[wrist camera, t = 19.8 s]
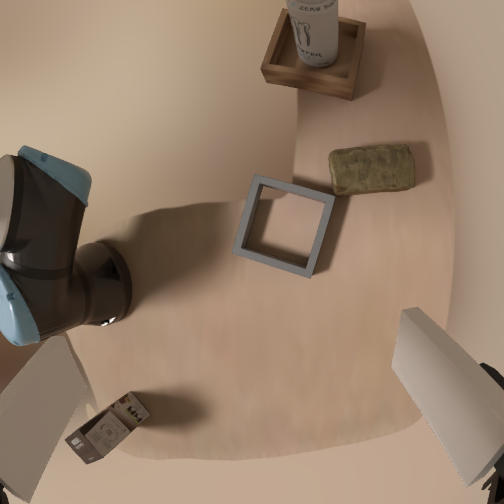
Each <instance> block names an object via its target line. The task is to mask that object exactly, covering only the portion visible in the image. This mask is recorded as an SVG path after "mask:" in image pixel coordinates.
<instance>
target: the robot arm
mask: <svg viewBox="0 0 504 504" xmlns="http://www.w3.org/2000/svg"><path fill="white" fill-rule="evenodd" d="M91 182H92V181H91V176H90V174H89V173H88V172H87V171H86V170H85V169H83V168H80V167H78V166H76V165H74V164H71V163H69V162H66V161H64V160H61V159H59V158H56V157H54V156H51V155H48V154H46V153H43V152H41V151H39V150H36V149H33V148H31V147H28V146H22V147H21V149H20V150H19V151H18V156H13V155H7V154H6V155H4V156H3V157H2V158H0V252H1V254H0V330H1V332H2V333H3V335H4V336H5V337H6V338H7V339H8V340H9V341H10V342H11V343H12V344H14V345H17V346H24V345H28V344H31V343H38V342H40V341H42V340H44V339H47V338H49V339H48V340H47V341H46V342H45V343H44V344H43V345H42V347H41V348H40V349H39V350H38V351H37V352H36V353H35V355H34V356H33V357H32V358H31V359H30V360H29V361H28V362H27V364H26V365H25V366H24V367H23V368H22V369H21V371H20V372H19V373H18V374H17V375H16V377H15V378H14V379H13V380H12V381H11V382H10V384H9V385H8V386H7V387H6V389H5V390H4V391H3V392H2V393H1V395H0V504H9V502H8V498H7V495H6V493H5V492H4V491H3V488H4V487H5V488H6V489H7V490H9V491H10V492H11V493H12V494H13V495H14V496H16V497H17V498H20V499H21V500H23V501H25V502H27V503H30V501H31V498H32V496H33V494H34V491H35V489H36V487H37V485H38V483H39V480H40V478H41V476H42V474H43V472H44V470H45V468H46V465H47V463H48V461H49V459H50V457H51V455H52V453H53V451H54V449H55V447H56V445H57V443H58V441H59V439H60V437H61V435H62V433H63V432H64V430H65V428H66V426H67V424H68V422H69V420H70V418H71V417H72V415H73V413H74V411H75V409H76V408H77V406H78V404H79V402H80V400H81V399H82V396H83V395H84V393H85V392H86V390H87V386H86V384H85V382H84V380H83V378H82V376H81V374H80V372H79V370H78V368H77V365H76V363H75V361H74V359H73V357H72V354H71V352H70V350H69V347H68V345H67V342H66V340H65V337H60V336H55V335H57V334H59V333H62V332H64V331H67V330H69V329H72V328H74V327H77V326H79V325H94V326H106V325H110V324H112V323H114V322H117V321H119V320H120V319H121V318H123V316H124V315H125V314H126V312H127V311H128V308H129V306H130V302H131V296H132V285H131V279H130V274H129V271H128V268H127V266H126V264H125V262H124V260H123V258H122V257H121V255H120V254H119V253H118V252H117V251H116V250H115V249H114V248H113V247H111V246H110V245H108V244H105V243H88V244H85V245H83V246H81V247H79V248H78V249H77V244H78V238H79V234H80V229H81V225H82V220H83V216H84V212H85V208H86V207H87V206H88V202H87V200H88V196H89V192H90V188H91ZM391 367H392V369H393V370H394V372H395V373H396V375H397V376H398V378H399V379H400V381H401V382H402V384H403V385H404V387H405V388H406V390H407V391H408V393H409V394H410V396H411V397H412V399H413V401H414V402H415V404H416V405H417V407H418V408H419V410H420V411H421V413H422V414H423V416H424V418H425V419H426V421H427V422H428V424H429V425H430V427H431V429H432V430H433V432H434V434H435V435H436V437H437V438H438V440H439V441H440V443H441V445H442V447H443V448H444V450H445V451H446V453H447V455H448V457H449V458H450V460H451V462H452V463H453V465H454V467H455V468H456V470H457V472H458V474H459V475H460V477H461V479H462V481H463V482H464V484H465V486H466V487H468V486H470V485H471V484H473V483H474V482H476V481H478V480H479V479H481V478H482V477H484V476H485V475H486V474H487V473H488V471H489V470H490V469H491V468H492V467H493V466H494V467H495V469H496V471H495V472H494V474H493V475H492V476H491V477H490V478H489V479H488V480H487V481H486V482H485V483H484V485H483V487H482V490H484V489H485V488H486V487H487V486H488V485H489V484H490V483H491V482H492V484H491V486H490V487H489V489H488V490H490V493H489V498H488V503H487V504H504V377H503V376H502V375H500V374H499V372H498V371H497V370H495V369H494V368H492V367H490V366H489V365H487V364H485V363H481V364H478V363H477V362H476V361H475V360H474V359H473V358H472V357H471V356H470V355H469V354H468V353H467V352H466V351H465V350H464V349H463V348H462V347H461V346H460V345H459V344H458V343H456V342H455V341H454V340H453V339H452V338H451V337H450V336H449V335H448V334H447V333H446V332H445V331H444V330H443V329H442V328H441V327H440V326H439V325H437V324H436V323H435V322H434V321H433V320H432V319H431V318H430V317H429V316H428V315H426V314H425V313H424V312H423V311H422V310H421V309H420V308H419V307H414V308H409V309H404V310H402V311H401V318H400V324H399V330H398V335H397V341H396V346H395V351H394V356H393V360H392V365H391Z"/></svg>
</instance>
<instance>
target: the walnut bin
mask: <svg viewBox="0 0 504 504" xmlns="http://www.w3.org/2000/svg"><path fill="white" fill-rule="evenodd" d="M365 27H366V23H364V22H360V21H356V20H352V19H347V18H343V17H338V56H337V59H336V60H335V61H334V62H333V63H332V64H330V65H328V66H325V67H313V66H310V65H308V64H306V63H304V62H303V61H302V60H301V59H300V57H299V55H298V50H297V46H296V41H295V37H294V32H293V28H292V23H291V19H290V15H289V11H288V9H282V11H281V14H280V17H279V19H278V22H277V24H276V27H275V30H274V32H273V35H272V38H271V41H270V43H269V46H268V49H267V52H266V54H265V57H264V60H263V63H262V66H261V71H262V73H263V76H264V78H265V80H266V82H267V83H271V84H277V85H283V86H289V87H294V88H299V89H304V90H309V91H313V92H318V93H322V94H326V95H331V96H335V97H338V98H342V99H346V100H350V101H352V96H353V92H354V87H355V82H356V77H357V72H358V67H359V62H360V57H361V52H362V46H363V41H364V34H365Z"/></svg>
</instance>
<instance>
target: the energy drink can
mask: <svg viewBox="0 0 504 504" xmlns="http://www.w3.org/2000/svg"><path fill="white" fill-rule="evenodd" d="M286 3H287V7H288V11H289V15H290V19H291V23H292V28H293V32H294V37H295V41H296V46H297V50H298V55H299V57H300V59H301V60H302V61H303V62H304V63H306V64H308V65H310V66H313V67H325V66H328V65H330V64H332V63H333V62H334V61H335V60H336V59H337V56H338V0H286Z"/></svg>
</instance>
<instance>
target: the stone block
mask: <svg viewBox="0 0 504 504" xmlns="http://www.w3.org/2000/svg"><path fill="white" fill-rule="evenodd" d="M329 168H330V172H331V180H332V186H333V192H334V195H335V196H337V197H339V196H348V195H359V194H368V193H378V192H397V191H404V190H408V189H410V188H412V187H414V185H415V174H414V169H415V165H414V160H413V157H412V154H411V152H410V151H409V147H408V146H407V145H399V146H391V145H385V146H368V147H355V148H348V149H338V150H334V151H332V152H331V153H330V154H329Z"/></svg>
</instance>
